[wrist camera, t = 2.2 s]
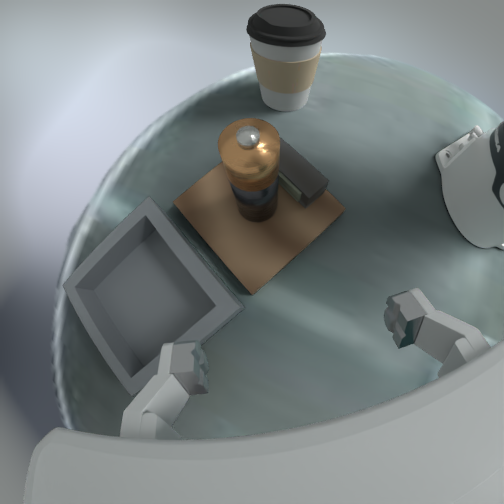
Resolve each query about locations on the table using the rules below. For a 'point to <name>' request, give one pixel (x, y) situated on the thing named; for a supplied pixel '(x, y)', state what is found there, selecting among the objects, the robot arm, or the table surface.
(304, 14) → the coffee cup
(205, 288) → the bin
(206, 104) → the table surface
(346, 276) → the table surface
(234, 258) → the plate
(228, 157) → the battery cell
